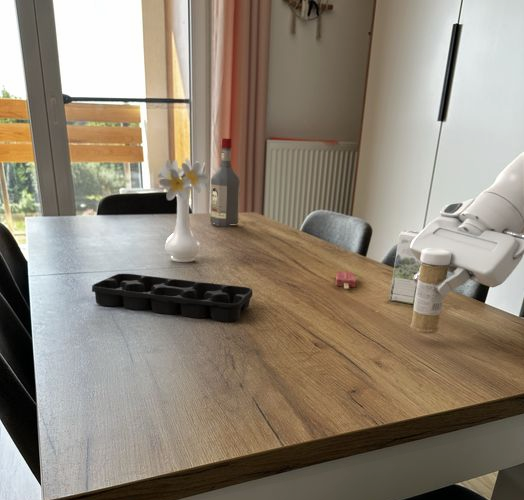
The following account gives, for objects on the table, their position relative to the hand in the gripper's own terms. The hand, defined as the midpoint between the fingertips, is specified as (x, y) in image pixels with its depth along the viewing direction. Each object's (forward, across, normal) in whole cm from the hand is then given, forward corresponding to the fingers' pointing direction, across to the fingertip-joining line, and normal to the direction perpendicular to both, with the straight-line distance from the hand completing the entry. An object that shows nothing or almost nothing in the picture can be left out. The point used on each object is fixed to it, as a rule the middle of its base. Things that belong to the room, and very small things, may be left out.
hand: (427, 287), depth 84 cm
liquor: (+7, +122, -7) cm, 123 cm away
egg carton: (+32, +27, +19) cm, 47 cm away
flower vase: (+26, +65, +12) cm, 71 cm away
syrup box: (-2, +23, -16) cm, 28 cm away
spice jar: (+5, 0, -6) cm, 8 cm away
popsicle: (+3, +37, -11) cm, 39 cm away
